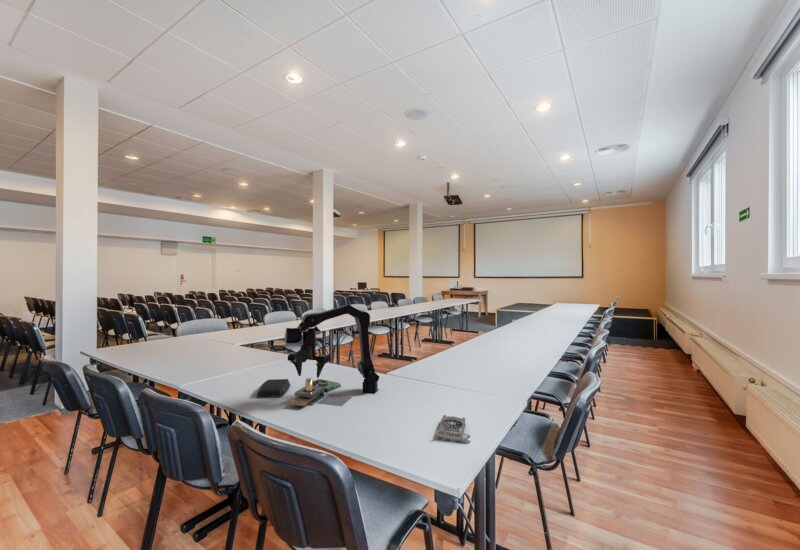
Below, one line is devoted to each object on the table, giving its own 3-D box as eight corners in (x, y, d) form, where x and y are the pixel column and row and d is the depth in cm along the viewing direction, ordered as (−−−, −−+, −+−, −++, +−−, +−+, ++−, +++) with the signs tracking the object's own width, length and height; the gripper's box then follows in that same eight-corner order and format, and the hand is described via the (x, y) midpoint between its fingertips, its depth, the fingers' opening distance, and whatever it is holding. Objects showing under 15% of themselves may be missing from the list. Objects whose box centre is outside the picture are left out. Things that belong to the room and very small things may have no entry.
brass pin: (313, 400, 156) (313, 378, 156) (310, 403, 153) (310, 380, 153) (307, 400, 156) (307, 378, 156) (304, 402, 153) (304, 379, 154)
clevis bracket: (307, 396, 162) (307, 385, 162) (324, 397, 159) (324, 387, 159) (287, 408, 146) (287, 396, 146) (305, 410, 144) (305, 398, 144)
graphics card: (470, 435, 115) (434, 430, 119) (469, 446, 115) (434, 441, 119) (473, 416, 132) (441, 412, 135) (472, 426, 132) (441, 422, 135)
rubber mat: (352, 397, 160) (352, 396, 160) (341, 407, 148) (341, 406, 148) (329, 395, 163) (329, 394, 163) (316, 404, 151) (316, 403, 151)
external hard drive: (253, 399, 158) (253, 390, 158) (265, 386, 177) (265, 378, 177) (282, 398, 159) (282, 389, 159) (291, 385, 179) (291, 377, 179)
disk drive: (304, 389, 173) (327, 394, 166) (304, 384, 173) (327, 388, 166) (319, 384, 182) (341, 388, 175) (318, 378, 182) (341, 382, 175)
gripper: (280, 344, 150) (279, 380, 149) (318, 346, 144) (318, 383, 144) (294, 339, 160) (294, 373, 160) (331, 342, 155) (330, 376, 155)
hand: (308, 376), depth 155 cm, fingers open, 9 cm apart
